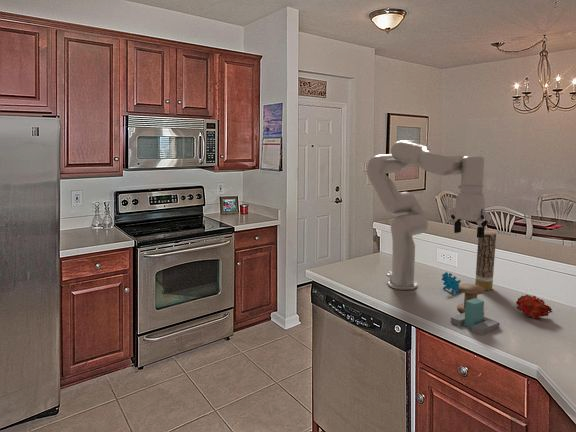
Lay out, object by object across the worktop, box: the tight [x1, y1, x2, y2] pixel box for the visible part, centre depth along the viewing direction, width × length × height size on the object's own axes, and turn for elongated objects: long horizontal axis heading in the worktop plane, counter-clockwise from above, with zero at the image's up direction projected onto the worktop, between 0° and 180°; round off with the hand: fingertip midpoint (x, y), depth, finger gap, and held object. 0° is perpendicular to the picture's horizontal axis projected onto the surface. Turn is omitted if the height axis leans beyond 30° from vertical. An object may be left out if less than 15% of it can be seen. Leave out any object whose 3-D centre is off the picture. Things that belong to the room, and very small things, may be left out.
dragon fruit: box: [515, 294, 553, 321], centre depth 159 cm, size 8×8×12 cm
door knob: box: [456, 283, 486, 314], centre depth 165 cm, size 9×9×9 cm
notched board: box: [450, 313, 500, 336], centre depth 152 cm, size 12×10×2 cm
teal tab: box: [463, 298, 485, 330], centre depth 152 cm, size 4×5×9 cm
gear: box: [441, 271, 462, 295], centre depth 187 cm, size 11×6×10 cm
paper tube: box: [474, 229, 497, 291], centre depth 187 cm, size 7×7×25 cm
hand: (468, 234), depth 165 cm, fingers open, 9 cm apart
